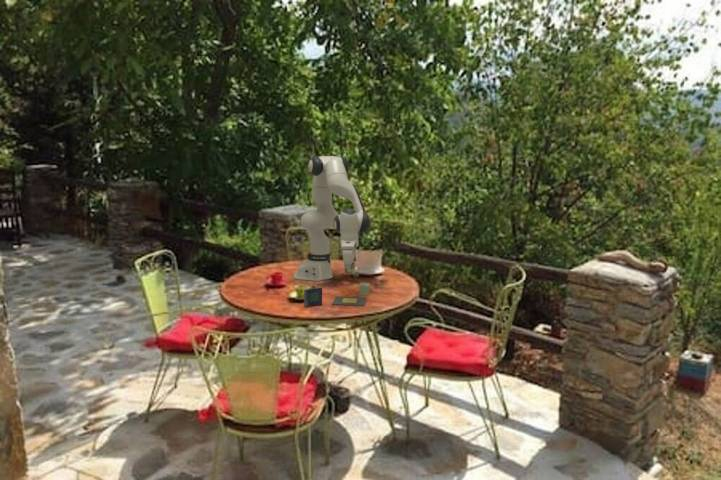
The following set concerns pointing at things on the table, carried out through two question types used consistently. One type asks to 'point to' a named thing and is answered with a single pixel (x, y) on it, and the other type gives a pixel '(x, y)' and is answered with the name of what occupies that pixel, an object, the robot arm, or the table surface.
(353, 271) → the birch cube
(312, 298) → the dark blue box
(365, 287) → the sage cube
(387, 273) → the table surface
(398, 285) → the table surface
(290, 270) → the table surface
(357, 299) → the mat
